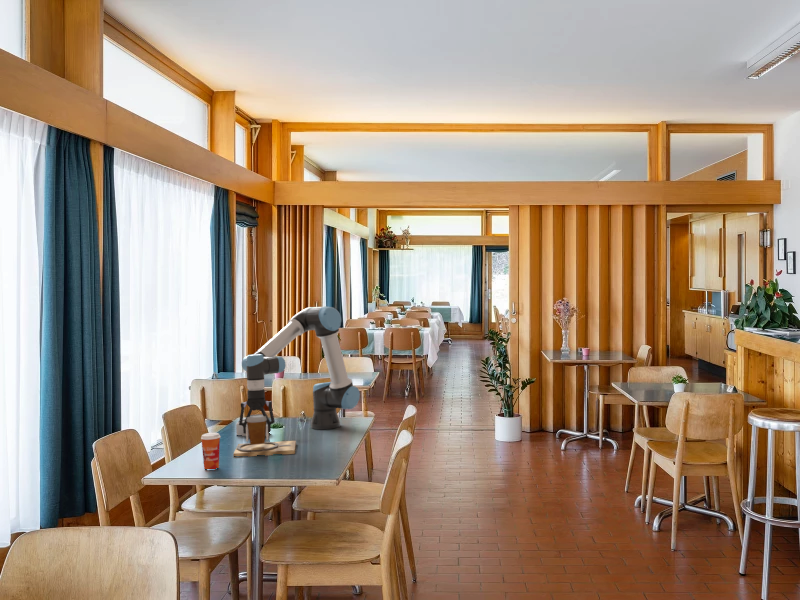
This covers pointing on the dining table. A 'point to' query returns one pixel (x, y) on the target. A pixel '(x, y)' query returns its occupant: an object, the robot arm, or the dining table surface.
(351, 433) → the dining table surface
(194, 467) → the dining table surface
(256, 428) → the disposable coffee cup
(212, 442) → the paper cup
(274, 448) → the wooden board
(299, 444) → the dining table surface
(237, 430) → the napkin holder
